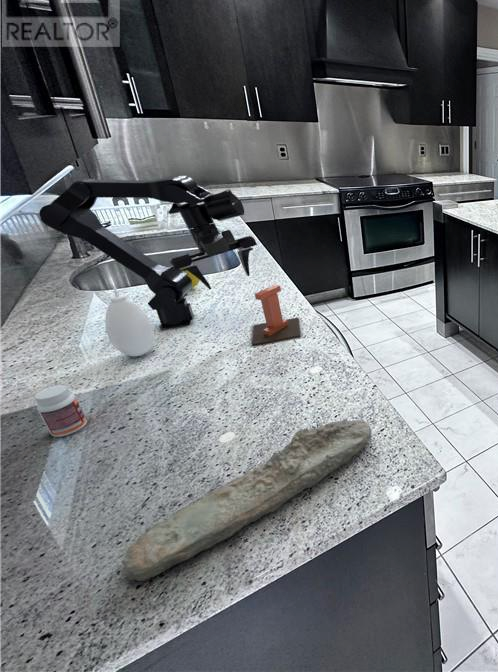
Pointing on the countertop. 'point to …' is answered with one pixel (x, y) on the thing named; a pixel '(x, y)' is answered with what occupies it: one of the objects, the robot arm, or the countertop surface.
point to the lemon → (193, 278)
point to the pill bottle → (60, 411)
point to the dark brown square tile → (282, 334)
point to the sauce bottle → (128, 326)
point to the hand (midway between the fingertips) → (230, 282)
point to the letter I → (271, 309)
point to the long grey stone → (245, 498)
